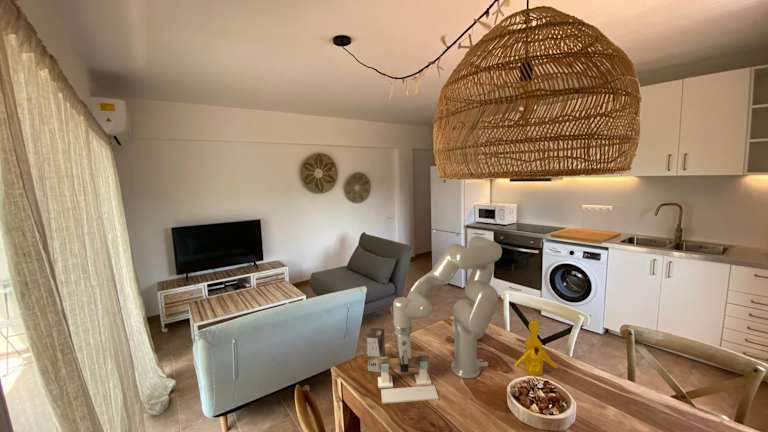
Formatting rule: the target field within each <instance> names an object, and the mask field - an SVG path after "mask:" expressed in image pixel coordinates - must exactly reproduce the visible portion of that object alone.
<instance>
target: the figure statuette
mask: <svg viewBox="0 0 768 432" xmlns="http://www.w3.org/2000/svg"><path fill="white" fill-rule="evenodd" d="M528 329H529V330H528V331H529V332H530V333H529V334H530V335H529V336H528V337H527V338H526V339H525V342H524V345H525V346H524V347H525V352H524V353H523V355H522V356H521V357H519V359H518V360H517V361H516V362H515V364H514V367H515V368H517V367H519V366H520V365H521V364H523V367H524V368H525V369H526V371H527V373H528V375H531V376H541V375H543V374H544V371H543V369H544V361H546V363H548V364H549V365H550V366H551V367H552V368H553V369H558V368H559V367H558V365H557V364H556V363H555V362H554V361H553V360H552V358H551V357H550V356H549V355H548V354H547V353H546V352H545V350H543V343H542V342H541V340H540V338H538V334H539V332H540V326H539V323H538V321H537V320H536V319H534V320H532V319H531V320H530V321H529V323H528Z"/></svg>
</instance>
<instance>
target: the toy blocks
mask: <svg viewBox="0 0 768 432" xmlns="http://www.w3.org/2000/svg"><path fill="white" fill-rule="evenodd" d="M420 356H426V354H417V357H420ZM428 368H429V367H428V362H427V361H423V362H420V368H418V373H417V374H414V379H415V382H416V387H419V386H432V380H431V377H430V374H429V373H428Z"/></svg>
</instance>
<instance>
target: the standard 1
mask: <svg viewBox="0 0 768 432" xmlns="http://www.w3.org/2000/svg"><path fill="white" fill-rule="evenodd" d="M388 357H389V356H385V357H381V359H389V358H388ZM389 372H390V370H389V364H381V372H380V373H381V375H380V376H378V377H377V386H378V387H377V388H378V389H391V388H394V383H393V376H392V375H390V374H389Z"/></svg>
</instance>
